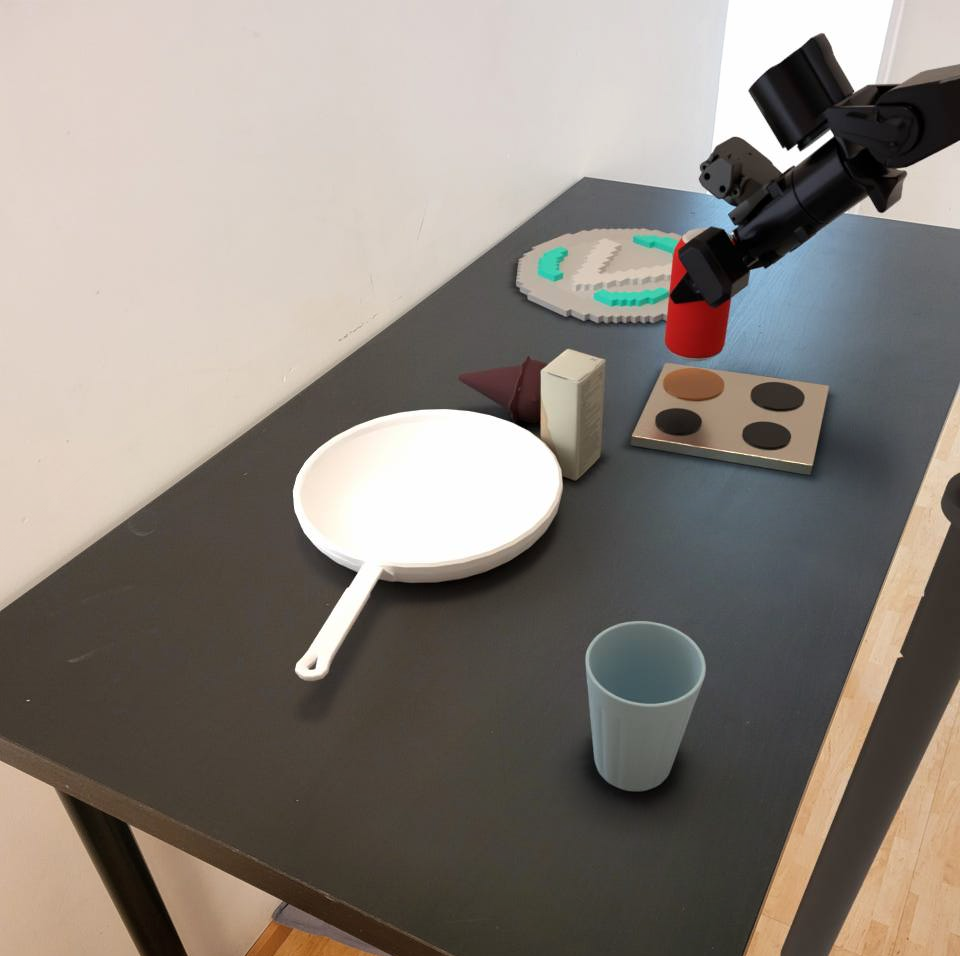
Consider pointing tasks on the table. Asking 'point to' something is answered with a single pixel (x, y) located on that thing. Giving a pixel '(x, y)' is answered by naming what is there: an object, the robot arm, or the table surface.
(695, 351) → the beverage can
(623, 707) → the cup
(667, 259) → the grey teal round disc
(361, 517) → the pan
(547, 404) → the box
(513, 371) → the icecream
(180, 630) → the table surface
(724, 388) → the stove
